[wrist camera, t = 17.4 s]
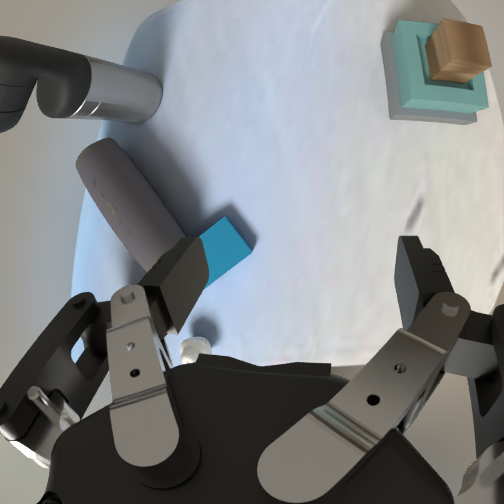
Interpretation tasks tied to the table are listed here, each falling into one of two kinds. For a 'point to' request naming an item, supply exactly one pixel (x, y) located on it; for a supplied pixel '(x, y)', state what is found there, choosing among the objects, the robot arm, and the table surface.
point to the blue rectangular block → (223, 248)
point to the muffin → (194, 349)
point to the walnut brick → (457, 52)
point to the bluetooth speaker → (128, 202)
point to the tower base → (425, 81)
